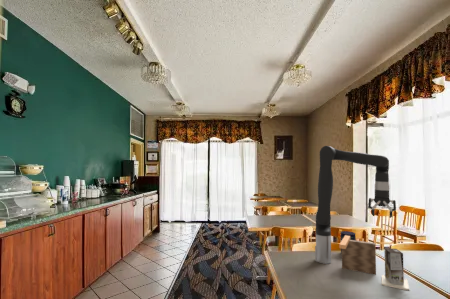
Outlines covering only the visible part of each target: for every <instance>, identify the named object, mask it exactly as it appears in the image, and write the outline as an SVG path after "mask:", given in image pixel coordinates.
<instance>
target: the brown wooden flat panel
mask: <svg viewBox="0 0 450 299" xmlns="http://www.w3.org/2000/svg"><path fill="white" fill-rule="evenodd" d="M376 248H377V247H376V243H375V242H368V241H361V240H356V241H355V240H350V241H349V243H348V245H347V247H346V249H342V254H341V268H342V269H344V270H349V271H354V272H359V273H366V274H371V275H374V276H376V274H377V258H376V256H377V254H376V253H377V252H376V251H377V250H376Z"/></svg>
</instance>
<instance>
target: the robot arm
mask: <svg viewBox="0 0 450 299" xmlns="http://www.w3.org/2000/svg"><path fill="white" fill-rule="evenodd" d="M333 161H343V162H349V163H353V164H358V165H365V166H372V167H375V176H374V178H375V179H374V182H375V183H374V198H372V197H369V198H368V206H367V207H368V209H370V210H371V216H373V217H375V209H376V208H377V207H383V208H387V209H388V210H389V218H390V219H391V218H393V212H395V211H397V205H396V204H397V203H396V200H395V199H392V200H391V199H390V183H389V182H390V176H389V169H390V160H389V159H388V157H387V156H384V155H379V154H371V153H365V152H358V151H345V150H341V149H337V148H334V147H332V146H330V145H324V146H322V147H321V148H320V150H319V169H318V170H319V172H318V181H317V182H318V183H317V199H318V202H317V205H318V206H317V210H316V212H315V245H314V246H315V247H314V250H315V252H314V256H315V257H314V261H315V262H317V263H320V264H324V265H325V264H328V265H329V264H331V263H332V231H331V230H332V228H331V227H332V226H331V219H332V217H331V216H332V215H331V201H332V197H333V190H334V176H333V170H332V167H333V165H332V164H333ZM373 202H374V203H375V204H374V205H373V206H372V203H373ZM390 203H391V204H392V206H393V208H392V207H391V206H390V205H389V204H390Z"/></svg>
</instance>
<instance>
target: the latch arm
mask: <svg viewBox="0 0 450 299" xmlns="http://www.w3.org/2000/svg"><path fill="white" fill-rule="evenodd" d="M349 241H350V236H346V235H345V236H344V238H343V239H342V241H341V240H340V243H339V245H338V246H339V249H340V250H341V249H346V247H347V245H348V243H349Z"/></svg>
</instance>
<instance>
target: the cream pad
mask: <svg viewBox="0 0 450 299" xmlns="http://www.w3.org/2000/svg"><path fill="white" fill-rule="evenodd" d="M409 285H410V284H409V281H408V279H407V278H404V285H397V284H391V283H390V282H389V281H388V280H387V279H386V278H385V274H381V286H385V287H389V288H394V289H400V290H403V291H408V290H409V291H410V286H409Z"/></svg>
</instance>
